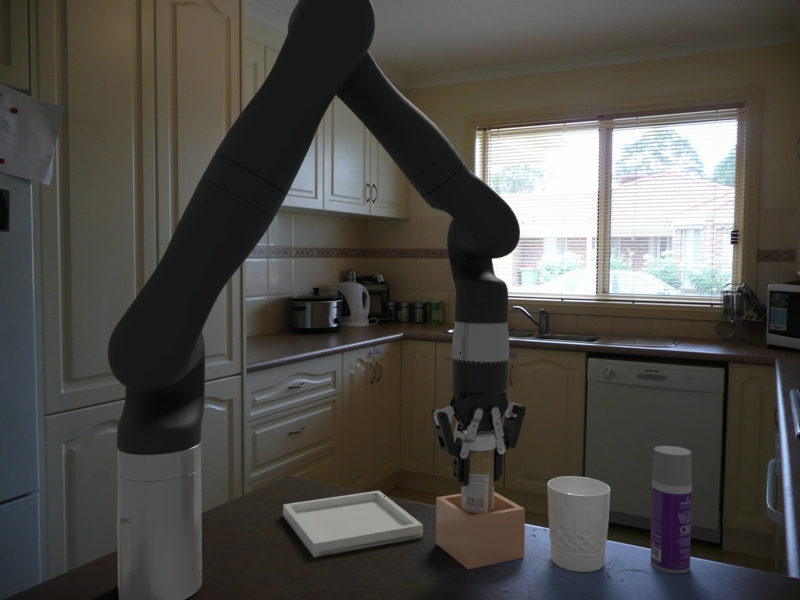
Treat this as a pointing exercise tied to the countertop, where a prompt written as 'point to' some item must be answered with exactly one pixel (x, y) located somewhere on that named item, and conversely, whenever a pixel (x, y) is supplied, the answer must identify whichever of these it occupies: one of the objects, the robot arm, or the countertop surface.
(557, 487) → the white cup
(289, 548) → the countertop surface
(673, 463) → the container
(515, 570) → the countertop surface
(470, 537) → the pot
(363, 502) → the tray
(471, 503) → the sprinkles bottle
